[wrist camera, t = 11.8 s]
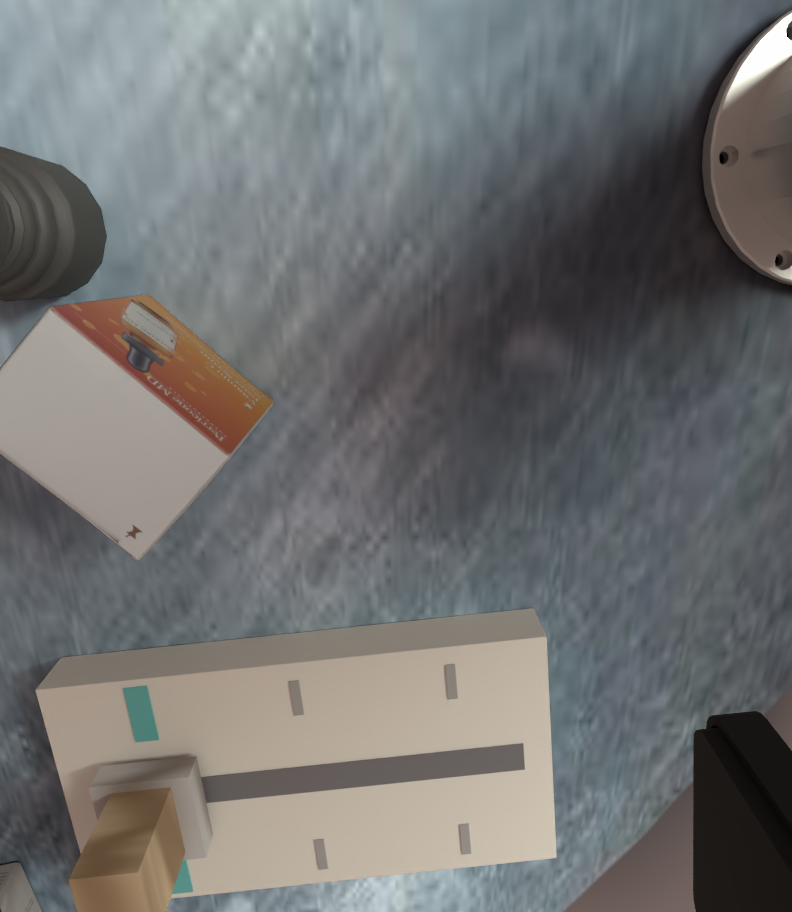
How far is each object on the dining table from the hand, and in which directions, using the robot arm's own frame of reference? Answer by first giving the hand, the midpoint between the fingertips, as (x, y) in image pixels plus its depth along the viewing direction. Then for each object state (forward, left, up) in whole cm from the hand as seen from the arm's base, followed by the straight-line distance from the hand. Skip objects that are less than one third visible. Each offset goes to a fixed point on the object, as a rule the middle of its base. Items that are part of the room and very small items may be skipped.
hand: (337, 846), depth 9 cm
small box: (+9, -2, -27) cm, 29 cm away
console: (+5, +19, -27) cm, 33 cm away
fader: (+13, +19, -23) cm, 33 cm away
